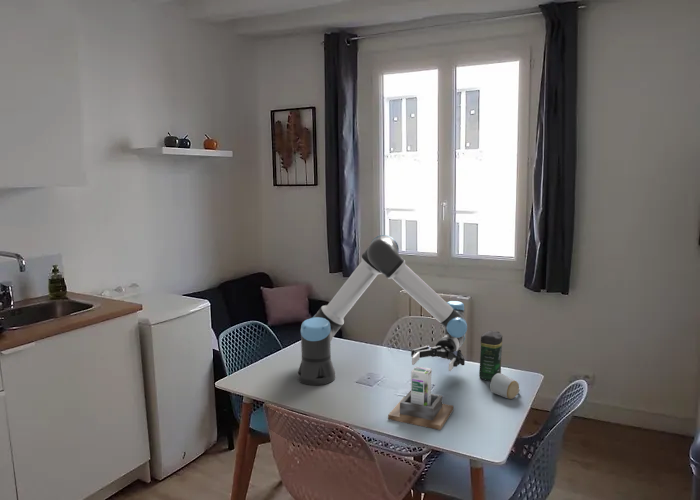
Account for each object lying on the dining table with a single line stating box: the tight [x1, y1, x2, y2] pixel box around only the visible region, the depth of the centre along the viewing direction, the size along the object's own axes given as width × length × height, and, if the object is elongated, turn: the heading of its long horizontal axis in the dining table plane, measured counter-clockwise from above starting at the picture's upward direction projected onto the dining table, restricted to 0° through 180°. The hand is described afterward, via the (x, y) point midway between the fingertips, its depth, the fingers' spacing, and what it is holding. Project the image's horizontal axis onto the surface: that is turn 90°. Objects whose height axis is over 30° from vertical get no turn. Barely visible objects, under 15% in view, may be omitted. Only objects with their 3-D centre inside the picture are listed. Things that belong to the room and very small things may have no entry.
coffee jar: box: [478, 330, 503, 382], centre depth 212 cm, size 10×8×19 cm
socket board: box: [387, 390, 454, 431], centre depth 181 cm, size 18×16×6 cm
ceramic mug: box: [489, 372, 521, 400], centre depth 196 cm, size 11×8×8 cm
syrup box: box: [410, 366, 433, 407], centre depth 180 cm, size 6×6×14 cm
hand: (431, 364), depth 190 cm, fingers open, 13 cm apart
